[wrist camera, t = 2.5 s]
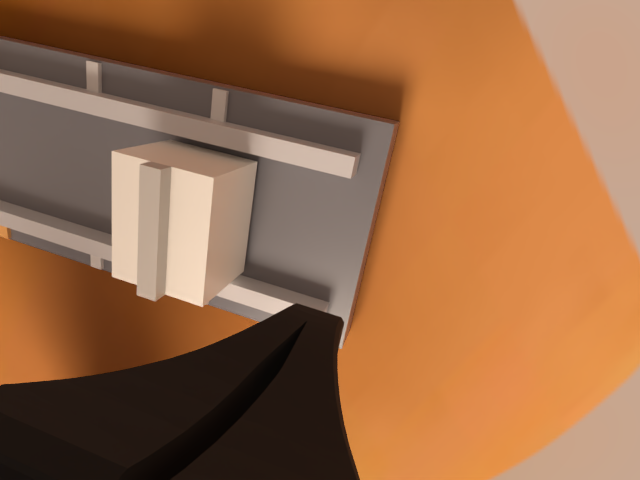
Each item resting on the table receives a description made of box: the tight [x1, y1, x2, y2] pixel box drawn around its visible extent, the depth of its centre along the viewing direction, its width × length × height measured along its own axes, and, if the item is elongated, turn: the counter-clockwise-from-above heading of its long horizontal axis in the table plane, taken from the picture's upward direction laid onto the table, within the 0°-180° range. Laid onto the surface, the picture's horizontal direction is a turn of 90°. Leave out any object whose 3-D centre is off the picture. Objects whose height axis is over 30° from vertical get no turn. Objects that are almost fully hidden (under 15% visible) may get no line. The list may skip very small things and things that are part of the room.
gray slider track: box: [0, 36, 400, 349], centre depth 21 cm, size 10×26×2 cm, turn 80°
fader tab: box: [112, 140, 258, 307], centre depth 17 cm, size 5×4×4 cm
